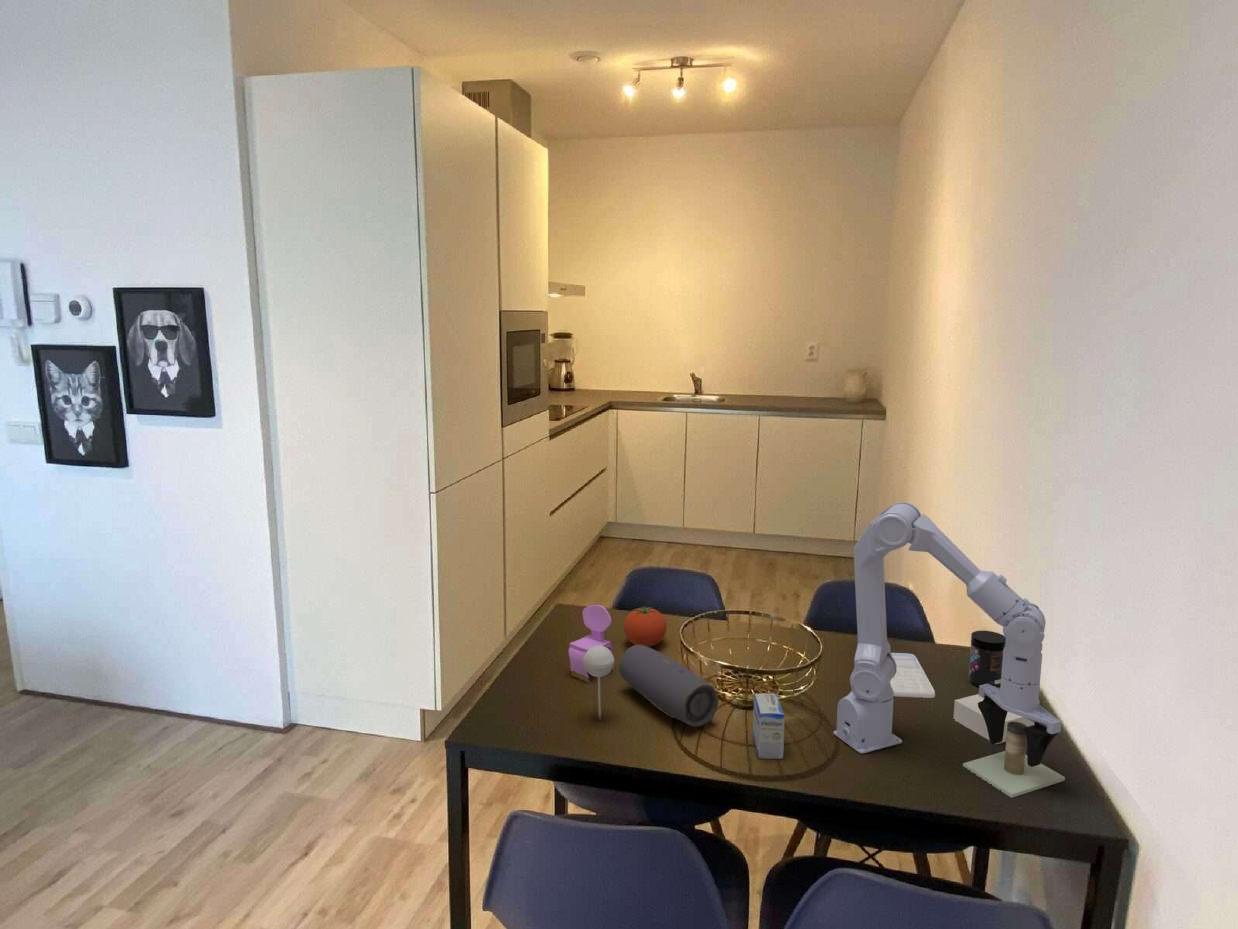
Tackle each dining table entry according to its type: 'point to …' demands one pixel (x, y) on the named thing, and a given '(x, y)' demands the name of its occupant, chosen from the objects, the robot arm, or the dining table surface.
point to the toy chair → (590, 637)
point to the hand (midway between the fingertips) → (1014, 753)
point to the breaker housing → (980, 716)
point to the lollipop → (598, 665)
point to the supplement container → (986, 658)
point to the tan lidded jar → (1015, 748)
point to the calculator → (910, 678)
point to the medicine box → (768, 726)
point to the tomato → (645, 626)
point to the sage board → (1012, 775)
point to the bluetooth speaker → (669, 685)
